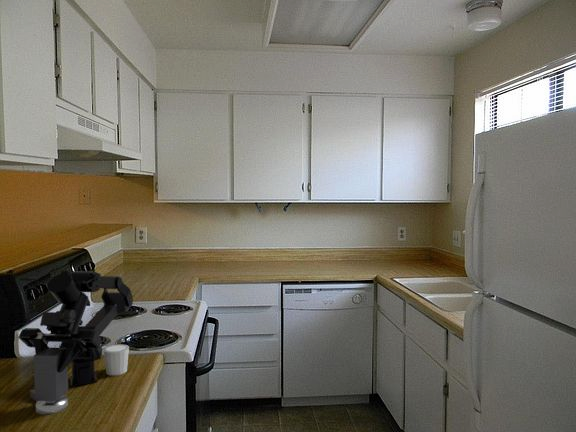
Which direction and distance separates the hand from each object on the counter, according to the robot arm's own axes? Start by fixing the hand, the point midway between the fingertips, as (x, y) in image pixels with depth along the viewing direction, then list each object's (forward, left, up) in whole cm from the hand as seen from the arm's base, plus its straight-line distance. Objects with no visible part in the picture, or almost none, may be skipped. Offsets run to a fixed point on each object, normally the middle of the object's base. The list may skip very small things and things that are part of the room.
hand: (48, 371), depth 104 cm
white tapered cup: (-16, +18, -10) cm, 26 cm away
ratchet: (-4, 0, -9) cm, 10 cm away
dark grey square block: (-1, +1, -7) cm, 7 cm away
